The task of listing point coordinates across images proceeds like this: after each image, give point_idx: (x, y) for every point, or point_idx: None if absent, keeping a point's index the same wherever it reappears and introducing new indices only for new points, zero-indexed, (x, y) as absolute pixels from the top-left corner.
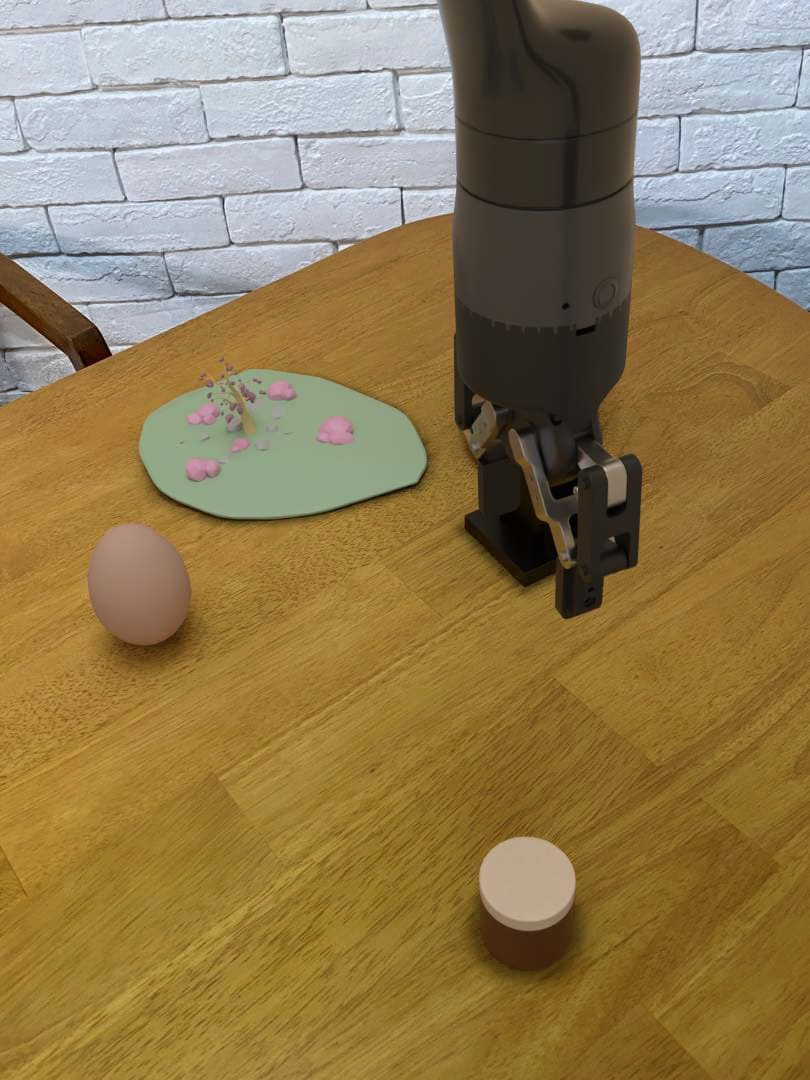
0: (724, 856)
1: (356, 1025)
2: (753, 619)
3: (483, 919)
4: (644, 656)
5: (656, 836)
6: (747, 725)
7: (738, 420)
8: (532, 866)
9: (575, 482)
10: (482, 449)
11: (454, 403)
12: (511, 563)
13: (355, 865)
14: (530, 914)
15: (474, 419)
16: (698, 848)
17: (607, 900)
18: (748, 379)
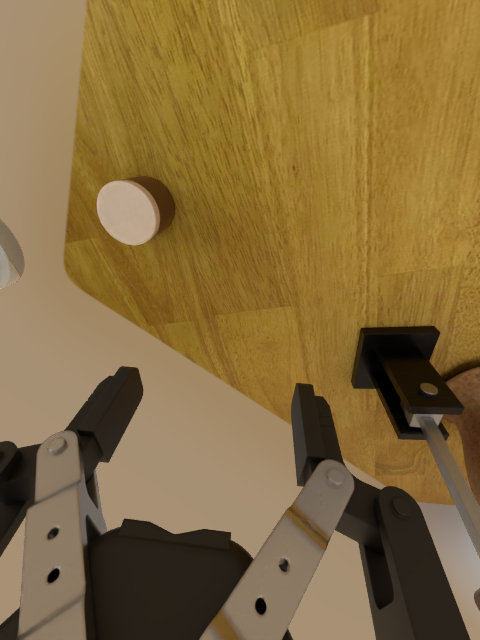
0: (159, 310)
1: (113, 56)
2: (268, 391)
3: (135, 178)
4: (277, 347)
5: (179, 292)
6: (217, 357)
7: (376, 454)
8: (132, 222)
9: (388, 399)
10: (306, 492)
11: (432, 540)
12: (379, 332)
13: (227, 116)
14: (100, 202)
15: (371, 526)
16: (166, 304)
17: (153, 253)
18: (395, 470)
